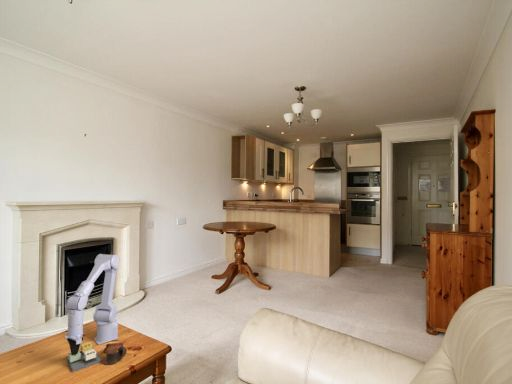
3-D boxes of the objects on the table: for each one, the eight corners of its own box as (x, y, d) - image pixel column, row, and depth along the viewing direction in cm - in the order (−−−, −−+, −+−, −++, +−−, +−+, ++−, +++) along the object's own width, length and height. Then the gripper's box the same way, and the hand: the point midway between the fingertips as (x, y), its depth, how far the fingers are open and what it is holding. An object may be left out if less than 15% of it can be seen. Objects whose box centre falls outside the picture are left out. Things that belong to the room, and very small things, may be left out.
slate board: (93, 350, 135) (93, 347, 135) (101, 361, 125) (101, 358, 125) (65, 359, 127) (65, 356, 127) (71, 372, 117) (71, 369, 117)
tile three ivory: (93, 353, 127) (93, 348, 127) (96, 357, 124) (96, 351, 124) (83, 356, 124) (83, 351, 124) (85, 360, 122) (86, 355, 122)
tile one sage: (78, 355, 127) (78, 349, 127) (80, 359, 124) (80, 353, 124) (68, 358, 124) (68, 353, 124) (70, 362, 121) (70, 357, 121)
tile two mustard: (90, 346, 133) (90, 341, 133) (92, 349, 130) (92, 344, 130) (80, 349, 130) (80, 343, 131) (82, 352, 128) (82, 347, 128)
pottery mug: (96, 365, 123) (99, 344, 128) (111, 364, 131) (114, 344, 135) (118, 362, 121) (121, 341, 125) (133, 362, 129) (135, 341, 133)
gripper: (61, 320, 127) (60, 350, 127) (68, 332, 116) (67, 364, 116) (79, 316, 132) (78, 345, 131) (87, 326, 121) (86, 358, 121)
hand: (74, 354), depth 124 cm, fingers closed, pressing on tile one sage
